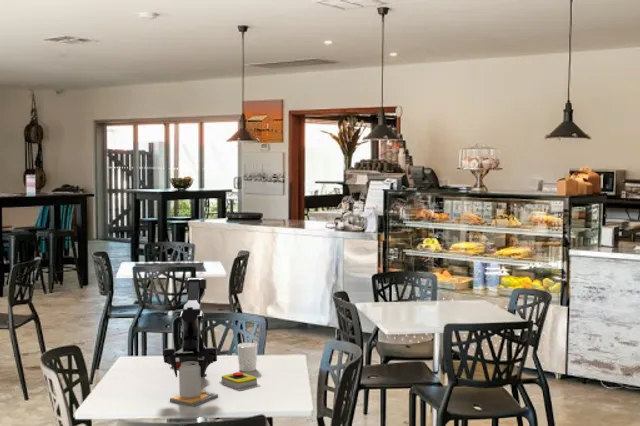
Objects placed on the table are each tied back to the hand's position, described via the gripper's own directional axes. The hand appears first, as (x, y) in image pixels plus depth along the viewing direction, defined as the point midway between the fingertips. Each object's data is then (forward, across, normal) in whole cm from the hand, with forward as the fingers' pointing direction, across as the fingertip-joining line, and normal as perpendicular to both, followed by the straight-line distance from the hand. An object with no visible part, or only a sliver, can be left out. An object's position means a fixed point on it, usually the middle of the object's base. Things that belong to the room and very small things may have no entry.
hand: (189, 376), depth 287 cm
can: (+4, 0, -7) cm, 8 cm away
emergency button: (-7, -18, -21) cm, 29 cm away
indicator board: (+4, -1, -8) cm, 10 cm away
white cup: (-22, -21, -36) cm, 47 cm away
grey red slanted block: (-28, +5, -42) cm, 51 cm away
